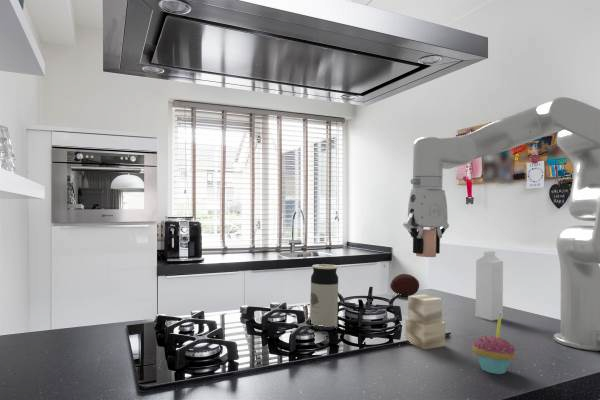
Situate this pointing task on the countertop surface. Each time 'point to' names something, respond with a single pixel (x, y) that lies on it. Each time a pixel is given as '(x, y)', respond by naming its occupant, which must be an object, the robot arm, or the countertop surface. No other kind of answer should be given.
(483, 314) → the milk
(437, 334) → the tower base
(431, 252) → the terracotta cylinder
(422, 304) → the tower top
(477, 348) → the cupcake
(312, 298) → the travel mug
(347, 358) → the countertop surface
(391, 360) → the countertop surface
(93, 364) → the countertop surface
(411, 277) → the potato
